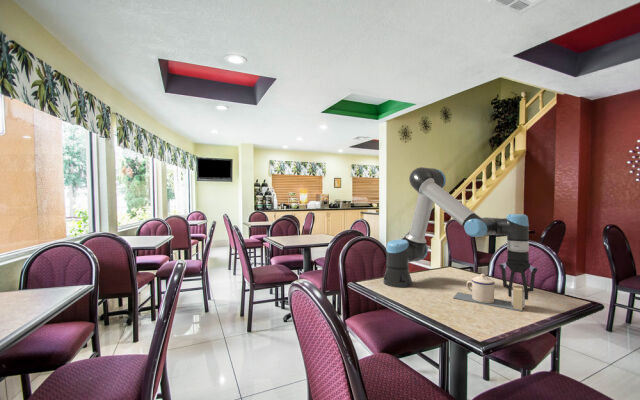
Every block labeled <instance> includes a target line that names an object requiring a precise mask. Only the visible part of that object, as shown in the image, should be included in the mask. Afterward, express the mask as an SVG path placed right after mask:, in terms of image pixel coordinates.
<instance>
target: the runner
mask: <svg viewBox="0 0 640 400" xmlns="http://www.w3.org/2000/svg"><path fill="white" fill-rule="evenodd" d="M512 289H513V306H512V300H511V301H510V300H504V299H499V298H494V302H493V303H481V302H478V301H475V300H473V299H472V293H471V294H470V293H465V292H460V291H459V292H457V293H456V294H455V295H454V296H453V297H452V298H453V299H455V300H459V301H463V302H470V303H474V304H481V305H487V306H489V307H490V306H491V307H494V308H495V307H496V308H501V309H505V310H510V311H511V310H512V311H517V312H523V307H522V291H523V290H524V286H523V285H518V284H514V285H513V287H512Z"/></svg>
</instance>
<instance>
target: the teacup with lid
mask: <svg viewBox="0 0 640 400" xmlns="http://www.w3.org/2000/svg"><path fill="white" fill-rule="evenodd" d="M470 283H471V288H470V285H469V284H470ZM495 284H496V282H495V280H494V279H491V278H489V277H487V275H486V274H485V273H481V274H480V275H479V276H478V275H477V276H475V277H472V278H471V280H469V281H466V284H465V285H466V289H467V290H468V291H469V292H471V295H472V299H473V300H475V301H478V302H481V303H493V302H494V299H495Z"/></svg>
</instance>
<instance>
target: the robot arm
mask: <svg viewBox="0 0 640 400" xmlns="http://www.w3.org/2000/svg"><path fill="white" fill-rule="evenodd" d="M408 180H409V184H410V186H411V187H412V188H413V189H414V190H415V191H416V192H417V193H418V196H417V199H416V204H415V207H414V211H413V216H412V220H411V225H410V229H409V233H408V234H406V235H405V238H404V239H392V240H390V241H388V242H387V243H386V248H385V249H386V250H385V252H386V269H385V272H384V276H383V284H384V285H386V286H389V287H395V288H407V287H411V286H413V280H412V277H411V274H410V273H411V272H410V270H409V263H412V262H419V261H421V260H424V259H425V258H426V257H427V255H428V252H429V248H428V245H427V239H426V237H425V236H426V233H427V229H428V226H429V221H430V217H431V213H432V211H433V210H432V209H433V206H434V204H436V206H438V207H439V208H440V209H442V211H444V212H445V213H446V214H447V215H449V216H450V217H451V218H452V219H453V220H455V221H456V222H458V224H460V226H462V227H463V228H464V231H465V233H466V235H468V236H469V237H472V238H474V237H475V238H482V237H485V236H493V235H495V236H506V238H507V239H506V242H507V243H506V248H507V250H506V251H507V252H506V253H507V254H506V257H507V259H506V261H505V262H503V263H499V268H500V270H501V277H502V285H503V288H506V289H507V290H508V293H507V294H508V295H507V296H508V297H510V298H511V302H512V306H513V286H514V285H513V284H514V279H515V273H519V274H520V276H521V279H522V286H523V291H522V307H523V308H524V309H525V308H526V307H525V306H526V303H525V302H526V300H527V301H528V300H529V292H534V287H535V278H536V273H537V272H538V268H537V267H536V266H532V265H531V263H530V254H529V252H528V251H530V250H529V249H530V248H529V247H530V241H529V236H530V235H529V231H530V230H529V229H530V228H529V227H530V224H529V217H528V215H526V214H524V213H523V214H522V213H521V214H519V213H516V214H515V213H509V214H507V215H506V218H501V217H500V218H498V217H496V218H495V217H480V216H479V215H478V214H476V213H475V212H474V211H473V210H471V209H470V208H469V207H467V206H466V205H465V204H464V203H462V202H461V201H460V200H458V199H457V198H455V197H454V196H453V195H452V194H450V193H449V192H448V191H446V190H445V189H444V187H445V186H446V183H447V178H446V174H445V173H444V172H443V171H442V170H440V169H436V168H433V167H430V168H429V167H422V166H421V167H416V168H415V169H413V170H412V171H411V172H410V175H409V179H408ZM507 267H508V268H509V270H510V277H509V280H508V281H509V282H508V281H507V271H506V269H507ZM528 270H529V271H530V272H531V273H530V274H531V275H530V283H529V287H528V282H527V277H526V272H527V271H528ZM523 308H522V309H523Z"/></svg>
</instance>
